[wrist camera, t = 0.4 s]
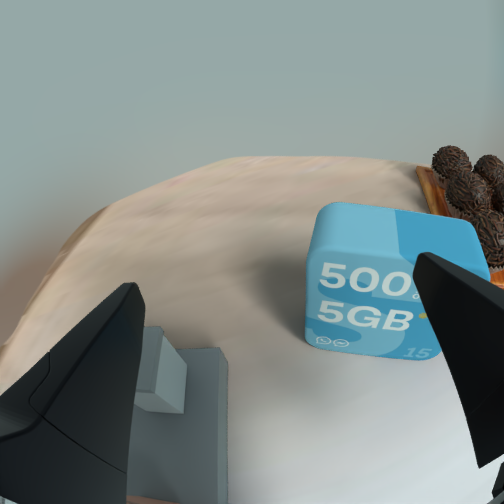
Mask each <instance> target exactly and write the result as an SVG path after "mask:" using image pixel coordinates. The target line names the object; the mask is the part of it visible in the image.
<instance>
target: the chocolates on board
mask: <svg viewBox="0 0 504 504" xmlns="http://www.w3.org/2000/svg"><path fill="white" fill-rule="evenodd" d="M433 155H434V156H435V157H433V158H434V159H433V160H432V167H431V168H428V167H422V166H417V168H416V172H417V175H418V178H419V180H420V183H421V186H422V188H423V191H424V194H425V197H426V200H427V203H428V206H429V209H430V212H431V214H433V215H439V216H445V217H450V218H456V219H462V220H465V221H468V222H469V223H470V224H472V226H473V227H474V229H475V231H476V234H477V236H478V239H479V242H480V245H481V247H482V250H483V253H484V256H485V259H486V262H487V266H488V269H489V272H490V282H491V283H493V284H494V285H496V286H498V287H500V288H502V289H504V164H503V162H502V161H500V160H499V159H498V158H497V157H496V156H492V155H487V156H486V155H484V156H483V157H481V158H479V160H478V161H477V164H476V165H474V169H473V171H472V172H471V170H472V165H471V162H469V157H467V154H466V153H465V152H464V151H463V150H461V149H460V148H458V147H455V146H451V145H450V146H446V147H441V148H440V149H439V151H437V153H435V154H433Z"/></svg>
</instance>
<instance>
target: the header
mask: <svg viewBox="0 0 504 504" xmlns="http://www.w3.org/2000/svg"><path fill="white" fill-rule="evenodd" d="M175 350H176V352H177V353H178V354H179V355H180V357H181V358H182V359H183V360H184V362H185V363H186V364H187V375H186V387H185V400H184V414H178V413H162V412H150V411H145V410H144V409H142V408H140V407H139V406H137V405H135V404H134V408H133V416H132V425H131V434H130V444H129V456H128V471H127V496H142V497H147V498H152V499H157V500H162V501H168V502H174V503H180V504H228V475H227V394H228V362H227V360H226V358H225V356H224V354H223V352H222V351H221V349H220V348H199V349H175Z"/></svg>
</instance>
